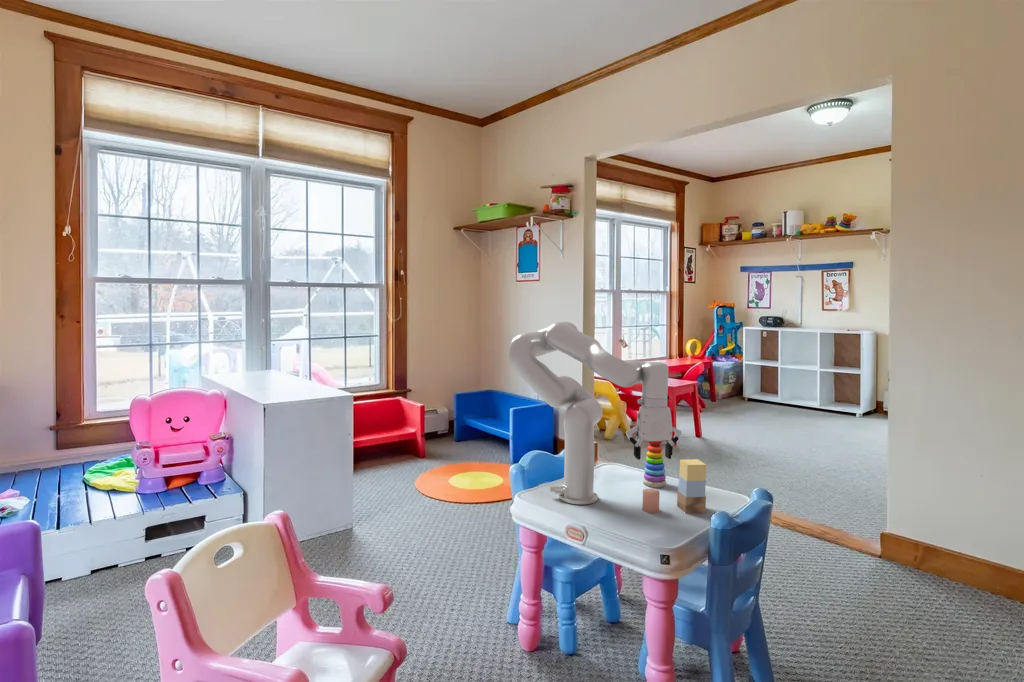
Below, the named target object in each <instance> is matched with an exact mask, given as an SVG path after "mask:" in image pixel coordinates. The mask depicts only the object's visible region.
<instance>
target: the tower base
mask: <svg viewBox="0 0 1024 682" xmlns="http://www.w3.org/2000/svg"><path fill="white" fill-rule="evenodd" d="M676 494H677V495H676V496H677V500H676V502H677V503H676V507H677V508H679V509H680V510H681V512H683V513H684V512H685V513H686V514H706V508H707V507H706V506H707V505H706V502H707V501H706V500H707V496H705V497H685V496H684V495H683V494H682V493H681V492H679V491H678V490H677V493H676ZM685 513H684V514H685Z"/></svg>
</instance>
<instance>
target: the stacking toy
mask: <svg viewBox="0 0 1024 682" xmlns="http://www.w3.org/2000/svg"><path fill="white" fill-rule="evenodd" d="M647 442H648V444H649V445H648V446H647V450H648V451H647V452H646V457H645V465H644V466H645V468H644V474H643V480H642V482H643V485H645V486H647V487H649V486H651V487H650V488H663V487H665V486H666V485H667V481H666V478H667V477H666V474H665V473H666V469H665V463H664V457H663V456H664V453H663V446H662V445H661V444H662V443H663V441H647Z"/></svg>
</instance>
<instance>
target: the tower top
mask: <svg viewBox="0 0 1024 682" xmlns="http://www.w3.org/2000/svg"><path fill="white" fill-rule="evenodd" d="M706 470H707V464H706V463H704V462H703V461H701V460H700V459H698V458H697V459H696V458H695V459H680V460H679V475H680V476H681V477H682V478H684V479H685V480H686V481H706V474H707V472H706Z"/></svg>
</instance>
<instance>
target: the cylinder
mask: <svg viewBox="0 0 1024 682" xmlns="http://www.w3.org/2000/svg"><path fill="white" fill-rule="evenodd" d="M660 496H661V495H660V490H658V489H654V488H645V489H643V490H642V504H641V505H642V507H641V508H642V509H641V510H642V511H643V512H644V513H646V512H647V514H658V513H659V512H660Z"/></svg>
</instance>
